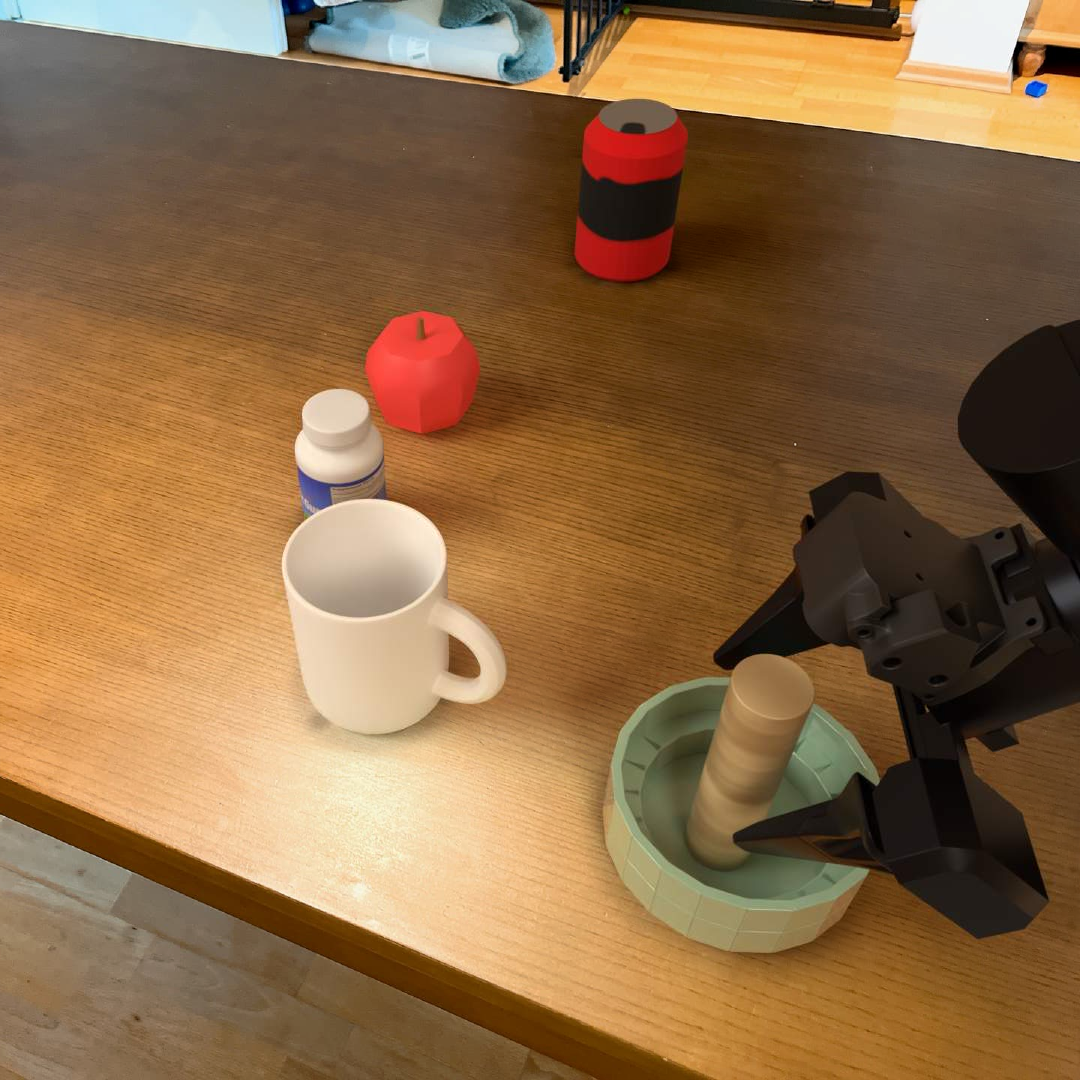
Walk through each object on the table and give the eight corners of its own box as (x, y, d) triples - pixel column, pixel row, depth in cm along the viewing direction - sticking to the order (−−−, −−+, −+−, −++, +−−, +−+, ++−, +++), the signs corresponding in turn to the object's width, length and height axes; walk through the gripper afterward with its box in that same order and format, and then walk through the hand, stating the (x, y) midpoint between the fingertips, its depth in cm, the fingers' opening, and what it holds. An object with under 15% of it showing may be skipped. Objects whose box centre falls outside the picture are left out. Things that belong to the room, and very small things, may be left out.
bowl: (866, 770, 55) (895, 715, 51) (844, 995, 47) (876, 950, 44) (630, 706, 58) (641, 651, 55) (576, 906, 51) (585, 857, 47)
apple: (345, 412, 77) (335, 319, 71) (427, 363, 80) (424, 270, 74) (420, 466, 73) (416, 372, 67) (503, 412, 76) (506, 318, 70)
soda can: (567, 278, 86) (577, 136, 78) (582, 229, 91) (594, 90, 82) (663, 288, 84) (685, 144, 76) (673, 237, 89) (695, 96, 80)
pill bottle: (295, 510, 71) (275, 395, 63) (371, 486, 72) (360, 370, 64) (322, 566, 67) (304, 451, 60) (402, 540, 68) (394, 423, 61)
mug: (534, 679, 60) (544, 555, 52) (466, 794, 55) (466, 677, 48) (352, 602, 65) (337, 479, 57) (276, 702, 60) (248, 582, 53)
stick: (694, 801, 54) (743, 642, 44) (759, 826, 52) (823, 669, 43) (675, 854, 52) (721, 701, 42) (742, 882, 51) (805, 730, 41)
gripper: (927, 306, 40) (603, 501, 50) (1086, 724, 28) (613, 876, 38) (1068, 467, 45) (746, 616, 55) (1259, 887, 33) (797, 985, 42)
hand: (727, 747), depth 47 cm, fingers open, 9 cm apart
